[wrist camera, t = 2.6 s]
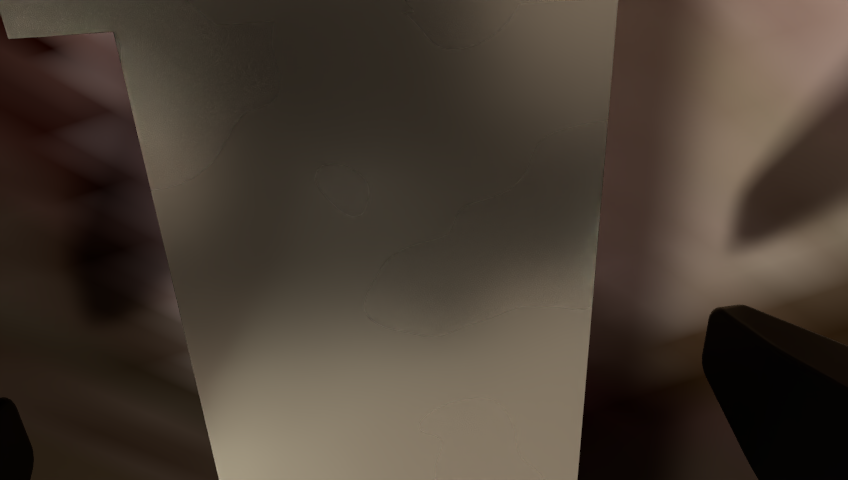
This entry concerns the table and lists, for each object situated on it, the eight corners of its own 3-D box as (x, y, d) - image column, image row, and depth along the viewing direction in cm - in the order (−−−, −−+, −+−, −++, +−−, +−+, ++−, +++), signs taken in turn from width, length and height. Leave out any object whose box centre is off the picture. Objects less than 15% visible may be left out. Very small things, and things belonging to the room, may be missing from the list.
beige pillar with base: (541, -395, 7) (796, -672, 3) (510, 639, 14) (580, 888, 11) (65, -395, 6) (-227, -728, 3) (289, 678, 14) (286, 954, 10)
